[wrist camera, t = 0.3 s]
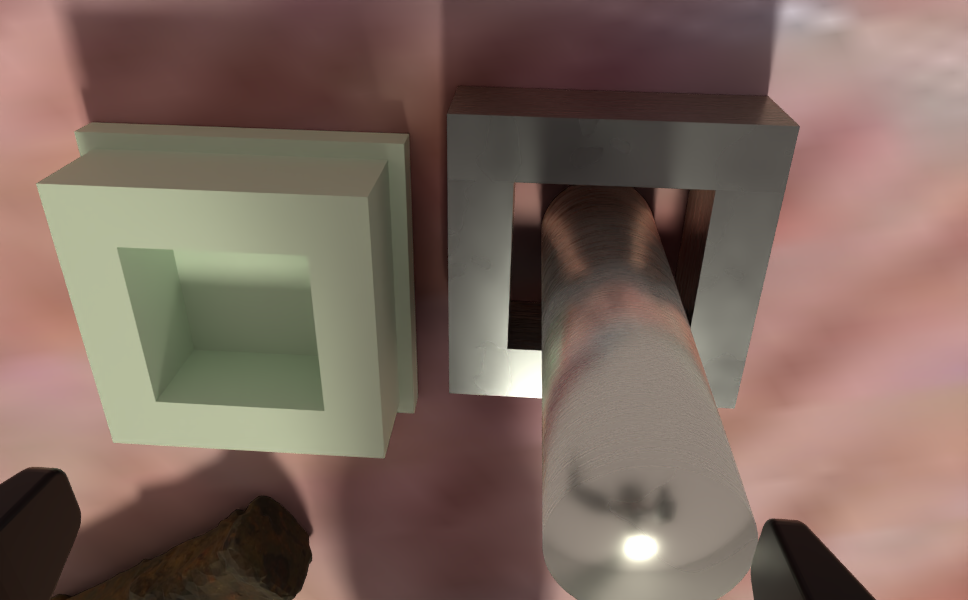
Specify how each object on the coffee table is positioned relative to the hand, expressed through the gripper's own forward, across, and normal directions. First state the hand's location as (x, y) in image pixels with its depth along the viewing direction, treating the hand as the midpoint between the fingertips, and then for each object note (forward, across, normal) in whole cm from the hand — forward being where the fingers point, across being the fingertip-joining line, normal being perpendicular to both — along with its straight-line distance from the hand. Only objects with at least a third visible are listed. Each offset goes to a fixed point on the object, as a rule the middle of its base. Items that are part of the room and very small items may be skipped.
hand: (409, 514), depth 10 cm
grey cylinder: (+15, -4, +4) cm, 16 cm away
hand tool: (+14, +15, +23) cm, 31 cm away
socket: (+15, -4, +4) cm, 16 cm away
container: (+15, +7, +6) cm, 18 cm away
